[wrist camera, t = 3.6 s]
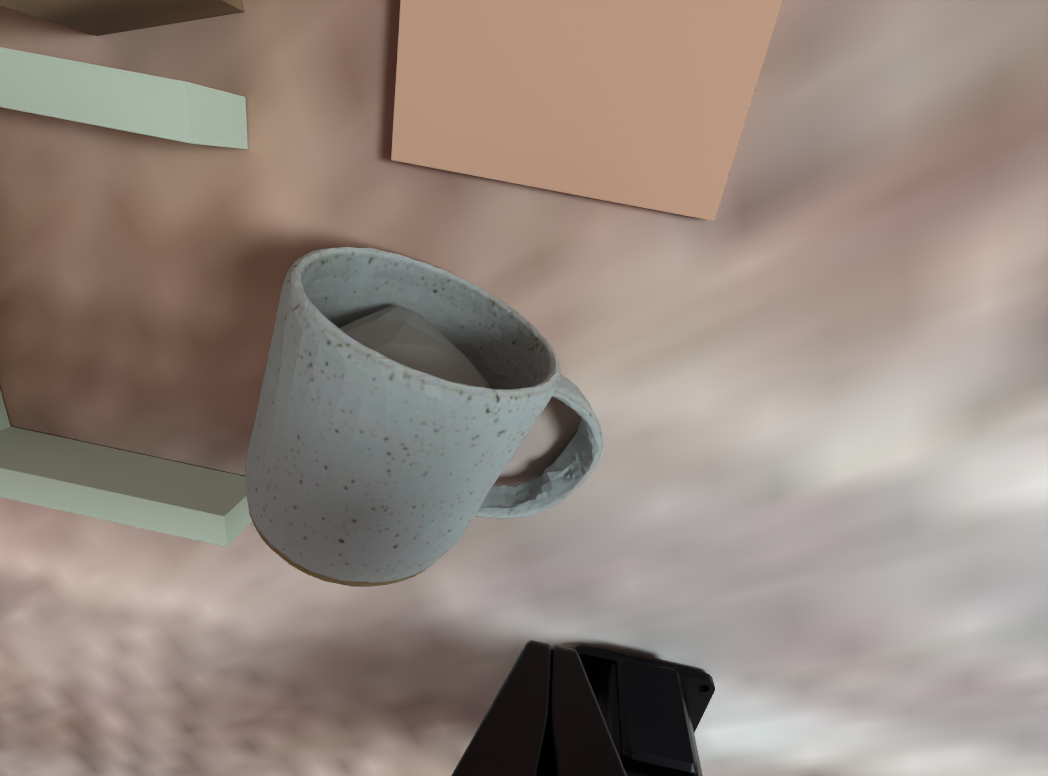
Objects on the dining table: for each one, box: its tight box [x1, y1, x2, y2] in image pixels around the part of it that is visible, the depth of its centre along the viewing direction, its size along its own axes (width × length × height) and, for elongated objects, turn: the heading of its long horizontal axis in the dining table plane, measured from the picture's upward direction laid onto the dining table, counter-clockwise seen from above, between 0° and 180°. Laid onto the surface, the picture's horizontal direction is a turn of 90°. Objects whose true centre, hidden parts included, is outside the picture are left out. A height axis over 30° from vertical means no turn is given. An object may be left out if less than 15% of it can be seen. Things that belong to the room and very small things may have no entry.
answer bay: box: [0, 47, 252, 547], centre depth 18 cm, size 16×13×2 cm
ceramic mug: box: [245, 247, 603, 586], centre depth 15 cm, size 11×8×8 cm
